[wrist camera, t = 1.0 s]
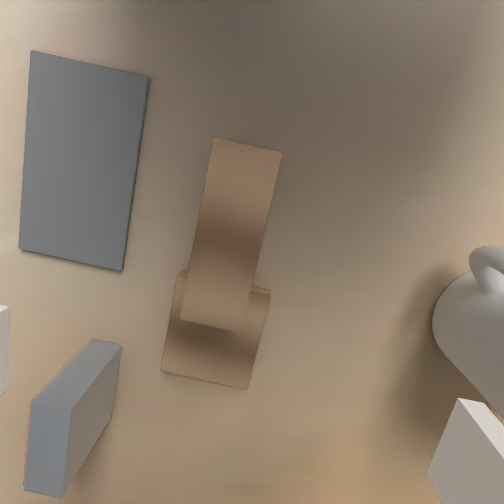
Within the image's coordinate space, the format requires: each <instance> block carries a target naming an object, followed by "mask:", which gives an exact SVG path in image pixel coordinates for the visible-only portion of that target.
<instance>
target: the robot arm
mask: <svg viewBox="0 0 504 504" xmlns="http://www.w3.org/2000/svg"><path fill="white" fill-rule="evenodd" d="M9 322H10V307H9V306H4V305H0V395H1V394H2V393H3V392H4V391H5V390H7V389H8V388H9ZM427 474H428V476H429V478H430V480H431V482H432V484H433V486H434V488H435V491H436V493H437V495H438V497H439V499H440V501H441V503H442V504H504V426H503V425H502V424H501V423H500V422H499V420H498V419H497V418H496V417H495V416H494V414H493V413H492V412H491V411H490V410H489V409H488V407H487V406H486V405H485V404H484V403H482V402H477V401H472V400H467V399H462V398H457V401H456V403H455V405H454V408H453V410H452V413H451V415H450V418H449V420H448V422H447V425H446V427H445V430H444V432H443V435H442V437H441V440H440V442H439V444H438V447H437V449H436V452H435V454H434V457H433V459H432V461H431V464H430V466H429V469H428V471H427Z"/></svg>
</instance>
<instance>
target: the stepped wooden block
mask: <svg viewBox="0 0 504 504" xmlns="http://www.w3.org/2000/svg"><path fill="white" fill-rule="evenodd" d="M282 154H283V153H282V152H277V151H273V150H269V149H264V148H260V147H256V146H251V145H247V144H243V143H238V142H234V141H230V140H225V139H221V138H217V137H214V138H213V143H212V148H211V154H210V159H209V164H208V170H207V175H206V181H205V186H204V191H203V197H202V202H201V207H200V213H199V218H198V223H197V229H196V234H195V239H194V245H193V250H192V255H191V261H190V266H189V272H187V271H181V272H180V274H179V275H178V276H177V281H176V287H175V292H174V298H173V303H172V309H171V314H170V320H169V326H168V331H167V337H166V342H165V348H164V353H163V359H162V365H161V370H160V371H164V372H169V373H173V374H178V375H182V376H187V377H191V378H196V379H200V380H205V381H209V382H214V383H218V384H223V385H227V386H232V387H236V388H240V389H245V390H247V389H248V385H249V381H250V377H251V373H252V369H253V365H254V361H255V357H256V353H257V349H258V345H259V341H260V337H261V333H262V329H263V325H264V321H265V317H266V313H267V309H268V305H269V301H270V290H267V289H262V288H258V287H253V286H252V282H253V277H254V273H255V269H256V265H257V260H258V256H259V252H260V248H261V243H262V239H263V235H264V231H265V226H266V222H267V218H268V214H269V209H270V205H271V201H272V197H273V192H274V188H275V184H276V180H277V175H278V171H279V167H280V163H281V158H282Z"/></svg>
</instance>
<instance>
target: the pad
mask: <svg viewBox="0 0 504 504" xmlns="http://www.w3.org/2000/svg"><path fill="white" fill-rule="evenodd" d="M149 80H150V78H148V77H145V76H141V75H137V74H133V73H128V72H124V71H120V70H115V69H111V68H107V67H102V66H98V65H94V64H89V63H85V62H81V61H76V60H72V59H68V58H63V57H59V56H55V55H50V54H46V53H42V52H38V51H33V50H31V53H30V69H29V86H28V102H27V118H26V134H25V151H24V167H23V183H22V199H21V216H20V232H19V248H20V249H24V250H29V251H33V252H38V253H42V254H46V255H51V256H55V257H60V258H64V259H69V260H73V261H78V262H82V263H86V264H91V265H95V266H100V267H104V268H109V269H113V270H117V271H122V270H123V267H124V260H125V252H126V245H127V238H128V231H129V224H130V216H131V209H132V202H133V195H134V188H135V180H136V173H137V166H138V159H139V152H140V144H141V137H142V130H143V123H144V116H145V108H146V101H147V94H148V87H149Z"/></svg>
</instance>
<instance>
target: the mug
mask: <svg viewBox="0 0 504 504" xmlns="http://www.w3.org/2000/svg"><path fill="white" fill-rule="evenodd" d="M469 264H470V268H471V270H472V271H470V272H467V273H466V274H464V275H462V276H460V277H459V278H457V279H456V280H455V281H453V282H452V283H451V284H450V285H449V286H448V287H447V288H446V289H445V290H444V292H443V293H442V295H441V296H440V297H439V299H438V301H437V303H436V306H435V309H434V312H433V317H432V330H433V334H434V338H435V340H436V342H437V345H438V346H439V348H440V349H441V351H442V352H443V353H444V355H445V356H446V357H447V358H448V359H449V360H450V361H451V362H452V363H453V364H454V365H455V366H456V367H457V368H458V369H459V371H460V372H461V373H462V374H463V375H464V376H465V377H466V378H467V379H468V380H469V381H470V382H471V383H472V385H473V386H474V387H475V388H476V389H477V390H478V391H479V392H480V393H481V394H482V396H483V397H484V398H485V399H486V400H487V401H488V402H489V403H490V404H491V406H492V407H493V408H494V409H495V410H496V411H497V412H498V413H499V414H500V415H501V417H502V418H503V419H504V248H503V247H500V246H494V245H489V246H482V247H480V248H477V249H475V250H474V251H472V253H471V254H470V256H469Z"/></svg>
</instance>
